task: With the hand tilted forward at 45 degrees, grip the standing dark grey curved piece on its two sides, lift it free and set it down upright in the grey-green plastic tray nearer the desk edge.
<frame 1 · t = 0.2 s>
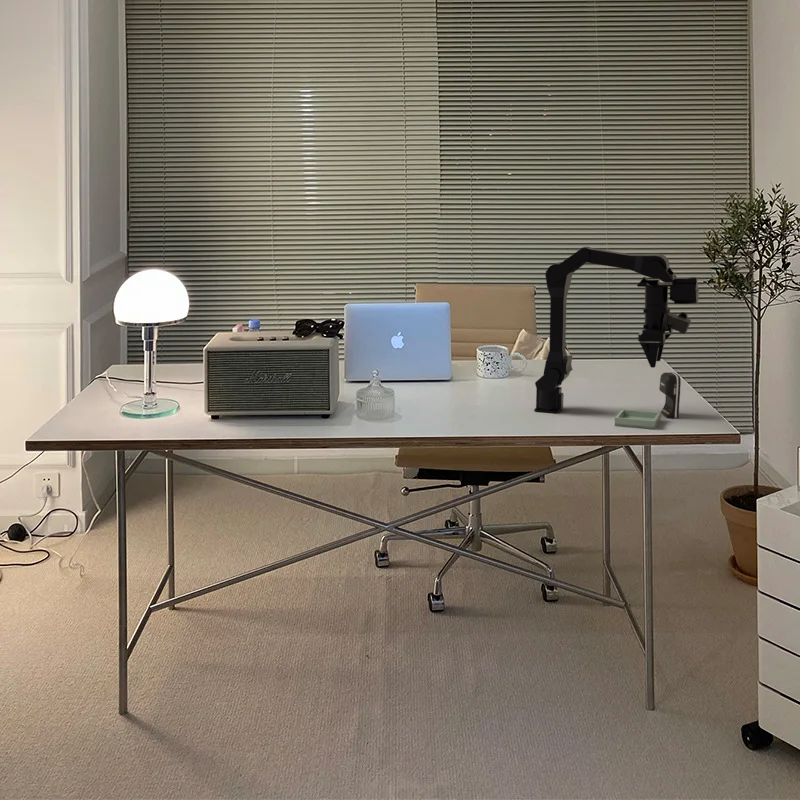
hand: (655, 364, 270), 14 cm above the table, tool pointing down, fingers open, 9 cm apart
dark grey curved piece: (667, 416, 277), on the table
tray: (637, 423, 269), on the table
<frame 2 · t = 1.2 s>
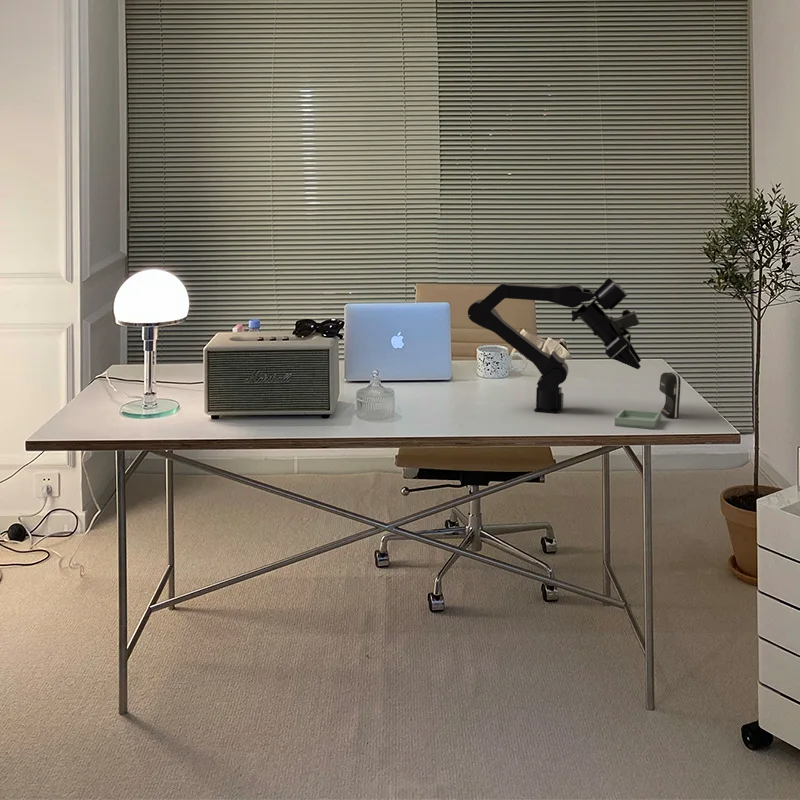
hand: (639, 364, 275), 13 cm above the table, tool tilted 45°, fingers open, 9 cm apart
nothing on the table moved.
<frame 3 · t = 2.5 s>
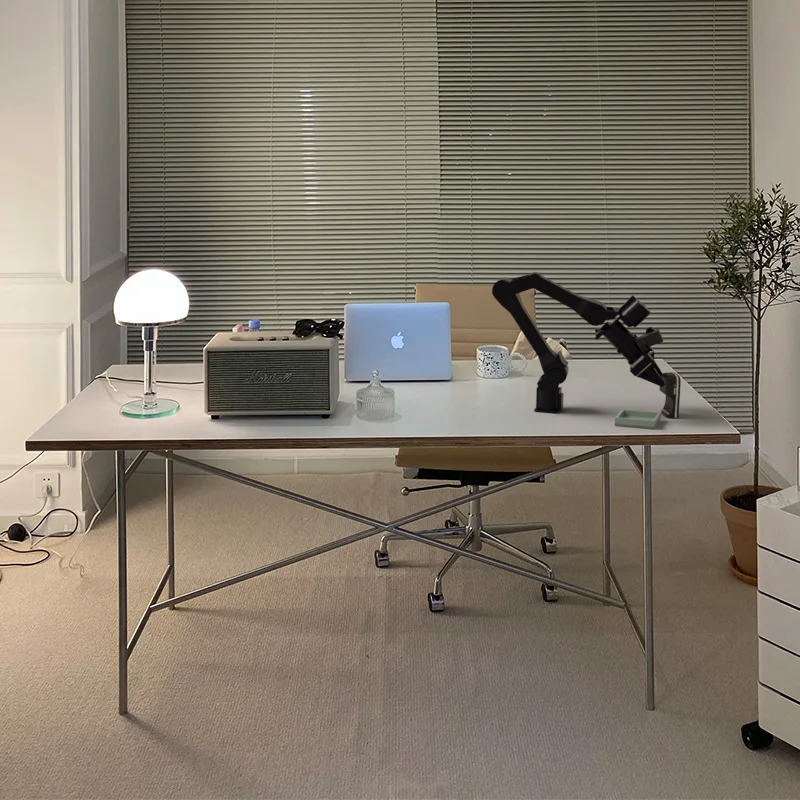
hand: (663, 382, 275), 9 cm above the table, tool tilted 45°, fingers open, 9 cm apart
nothing on the table moved.
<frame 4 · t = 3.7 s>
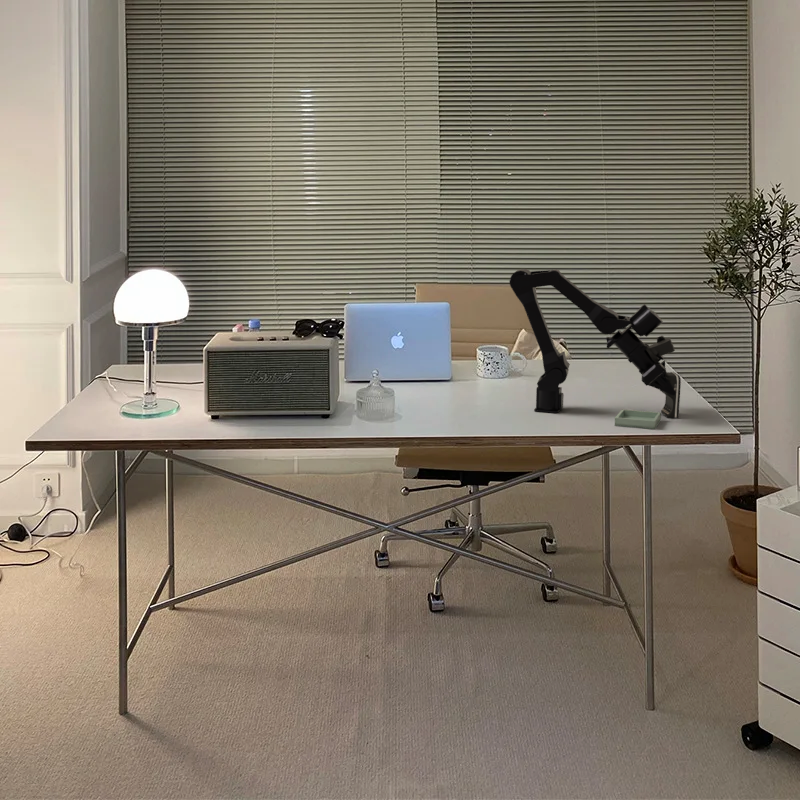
hand: (674, 391, 275), 7 cm above the table, tool tilted 45°, fingers closed on dark grey curved piece, 7 cm apart
dark grey curved piece: (667, 416, 277), on the table, touching gripper
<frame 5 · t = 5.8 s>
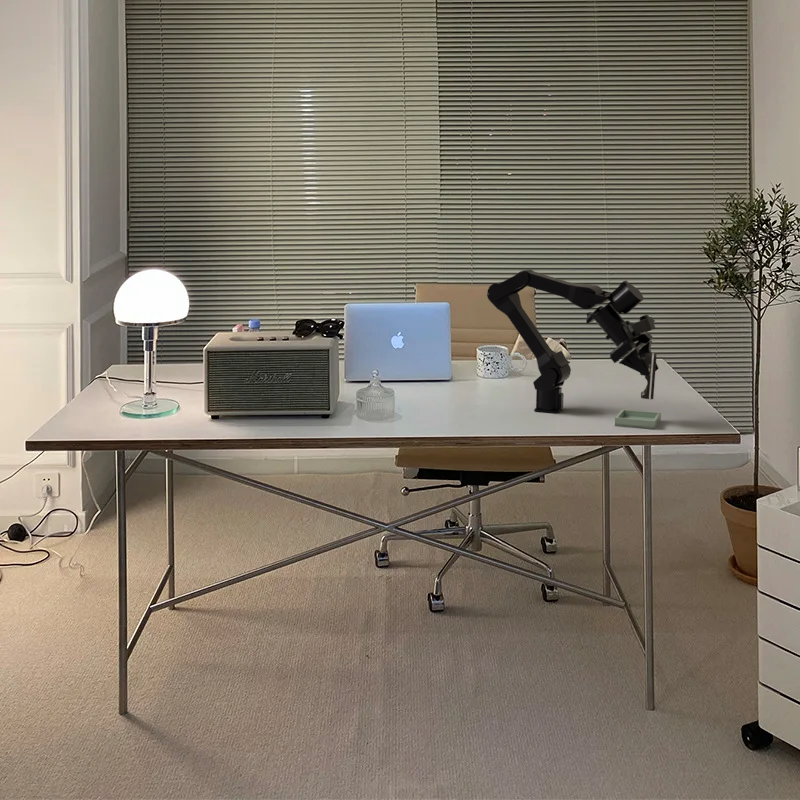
hand: (652, 372, 267), 13 cm above the table, tool tilted 45°, fingers closed on dark grey curved piece, 7 cm apart
dark grey curved piece: (645, 398, 269), point 6 cm above the table, touching gripper
when the fingers open (8 cm above the table, at t = 7.8 s): dark grey curved piece drops 1 cm, resting on tray.
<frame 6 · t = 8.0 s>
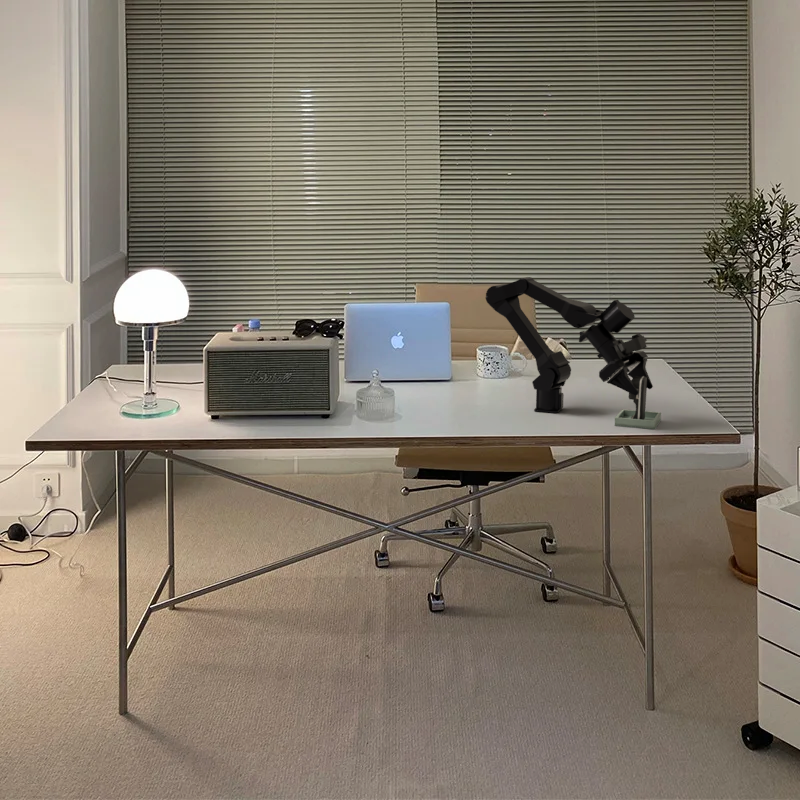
hand: (644, 391, 266), 9 cm above the table, tool tilted 45°, fingers open, 9 cm apart
dark grey curved piece: (635, 421, 269), resting on tray
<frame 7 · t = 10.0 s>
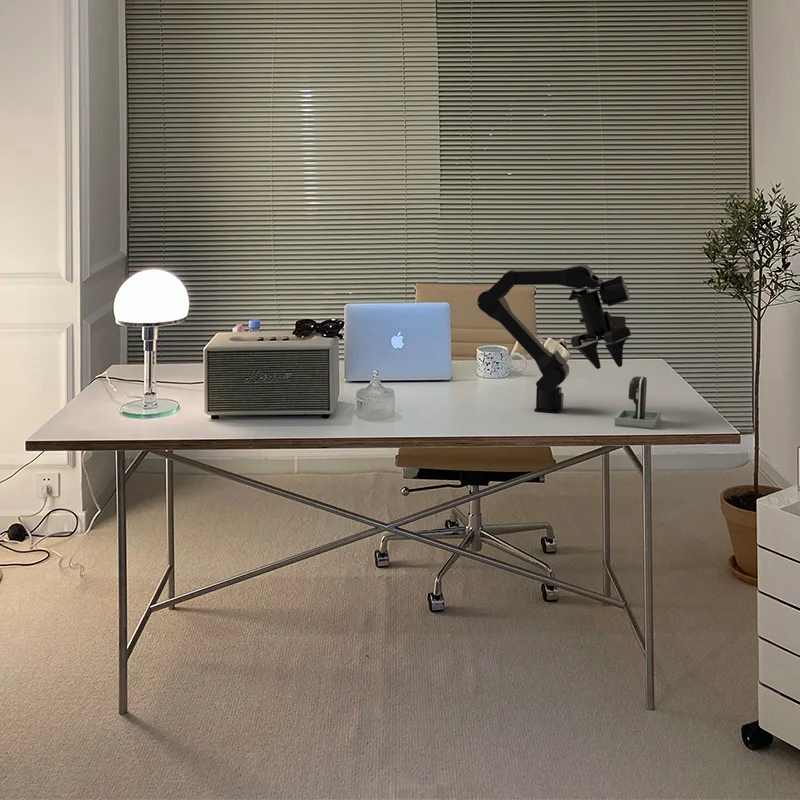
hand: (609, 367, 276), 13 cm above the table, tool tilted 20°, fingers open, 9 cm apart
nothing on the table moved.
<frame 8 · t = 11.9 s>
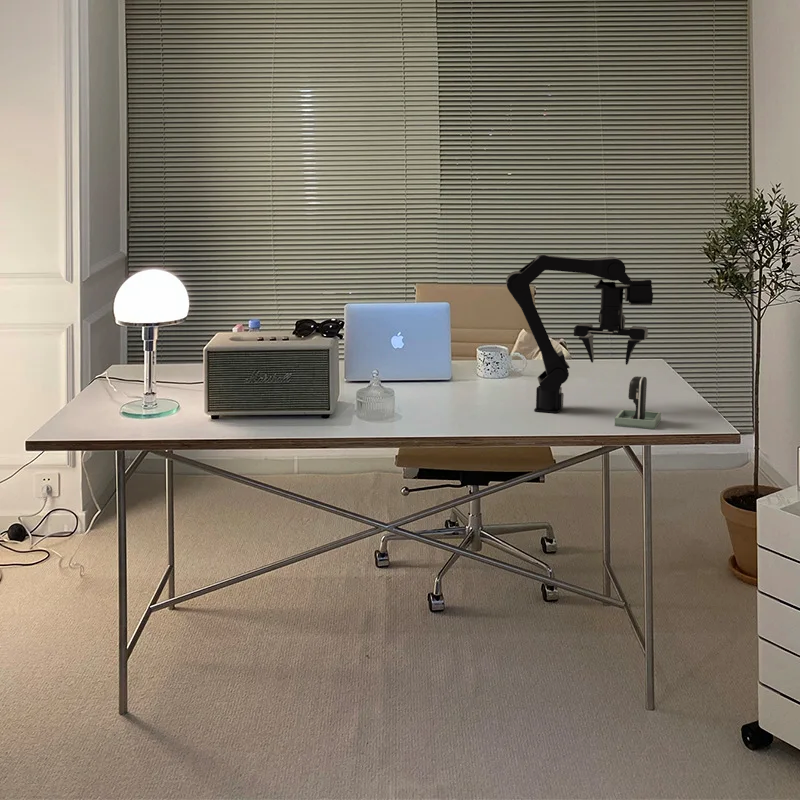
hand: (609, 363, 280), 13 cm above the table, tool pointing down, fingers open, 9 cm apart
nothing on the table moved.
at the end: dark grey curved piece inside the target area on the tray (0.6 cm from its centre), point 0.4 cm above the tray's base; dark grey curved piece tilted 0°; the gripper is holding nothing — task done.
